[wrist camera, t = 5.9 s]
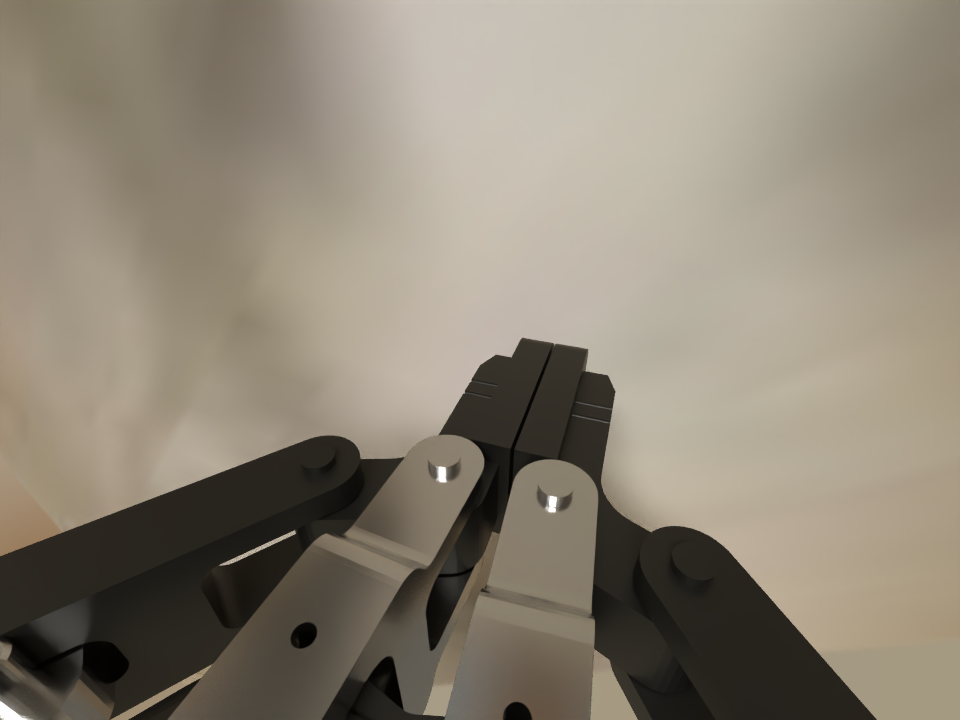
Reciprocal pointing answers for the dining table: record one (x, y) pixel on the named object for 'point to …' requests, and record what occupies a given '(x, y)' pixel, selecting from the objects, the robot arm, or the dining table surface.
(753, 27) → the dining table surface
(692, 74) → the dining table surface
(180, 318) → the dining table surface
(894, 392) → the dining table surface
